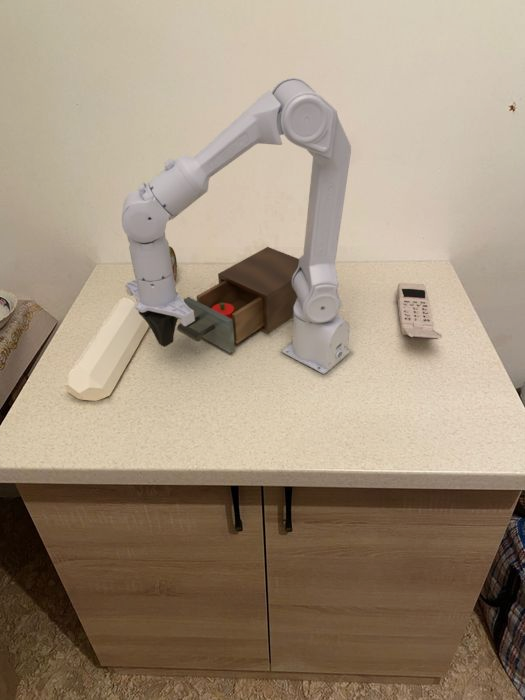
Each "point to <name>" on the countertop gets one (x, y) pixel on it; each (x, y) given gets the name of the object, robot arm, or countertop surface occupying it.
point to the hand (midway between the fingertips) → (166, 342)
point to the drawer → (220, 326)
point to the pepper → (224, 309)
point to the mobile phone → (415, 311)
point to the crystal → (107, 353)
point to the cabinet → (267, 283)
